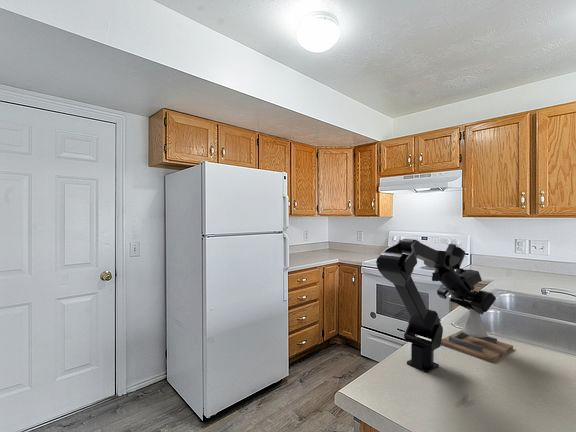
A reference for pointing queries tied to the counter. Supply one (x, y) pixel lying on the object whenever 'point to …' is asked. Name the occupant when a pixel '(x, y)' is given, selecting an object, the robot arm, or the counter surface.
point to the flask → (474, 325)
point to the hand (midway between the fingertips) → (478, 311)
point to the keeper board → (477, 346)
